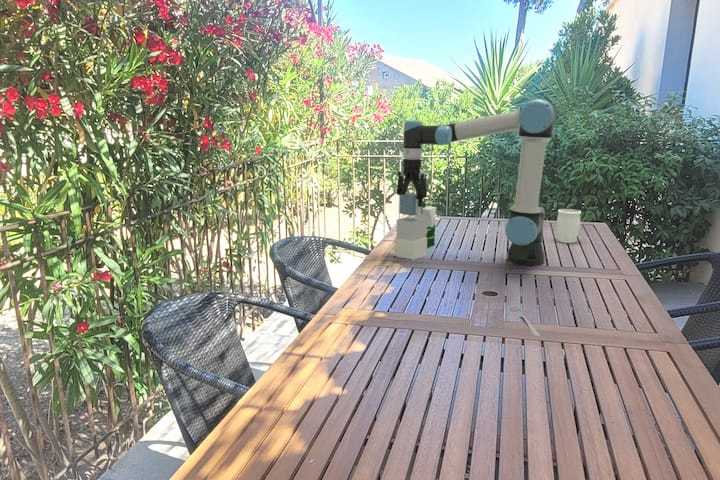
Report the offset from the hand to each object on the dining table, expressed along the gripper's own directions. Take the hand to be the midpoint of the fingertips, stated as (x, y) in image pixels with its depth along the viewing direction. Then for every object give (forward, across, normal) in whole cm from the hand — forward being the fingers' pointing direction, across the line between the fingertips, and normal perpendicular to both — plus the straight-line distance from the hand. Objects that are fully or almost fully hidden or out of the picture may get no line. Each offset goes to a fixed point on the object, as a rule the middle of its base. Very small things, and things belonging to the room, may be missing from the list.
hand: (410, 212), depth 218 cm
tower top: (+11, 0, 0) cm, 11 cm away
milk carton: (+19, -6, +18) cm, 27 cm away
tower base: (+19, 0, 0) cm, 19 cm away
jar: (+19, +39, +71) cm, 83 cm away
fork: (+19, +71, -34) cm, 81 cm away
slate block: (0, 0, 0) cm, 0 cm away
